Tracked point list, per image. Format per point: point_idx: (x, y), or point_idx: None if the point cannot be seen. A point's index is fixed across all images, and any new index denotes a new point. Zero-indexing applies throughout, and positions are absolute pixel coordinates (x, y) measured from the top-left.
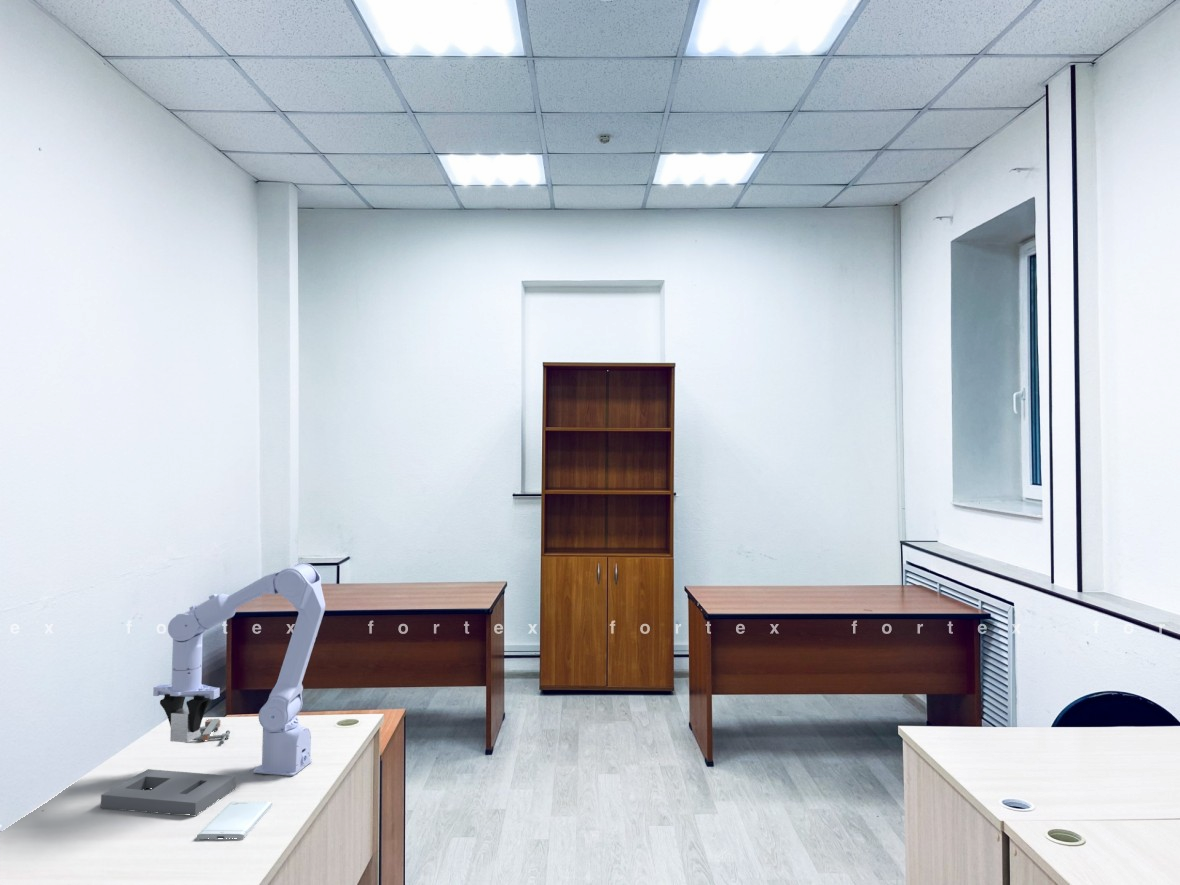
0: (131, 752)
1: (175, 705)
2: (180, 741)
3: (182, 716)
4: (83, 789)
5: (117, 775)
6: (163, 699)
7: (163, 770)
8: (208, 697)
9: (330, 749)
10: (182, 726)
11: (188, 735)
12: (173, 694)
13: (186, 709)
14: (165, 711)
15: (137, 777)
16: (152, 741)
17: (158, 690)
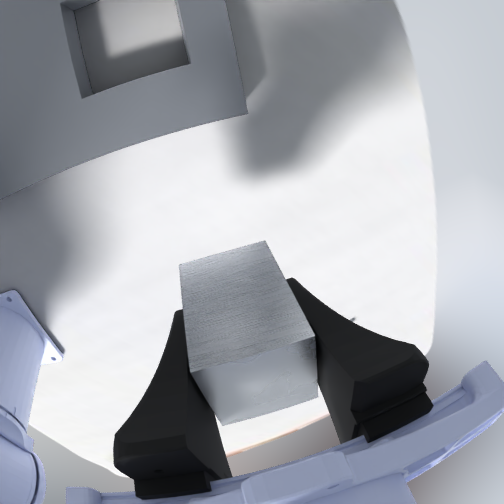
0: (428, 232)
1: (333, 386)
2: (213, 256)
3: (226, 348)
4: (373, 12)
5: (367, 112)
6: (417, 379)
7: (176, 129)
8: (117, 495)
9: (36, 407)
10: (214, 305)
11: (182, 288)
12: (297, 479)
13: (275, 394)
14: (359, 328)
15: (215, 44)
16: (421, 287)
17: (480, 403)
